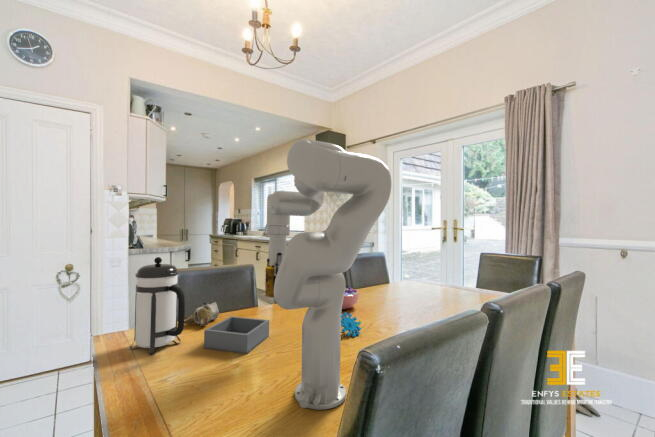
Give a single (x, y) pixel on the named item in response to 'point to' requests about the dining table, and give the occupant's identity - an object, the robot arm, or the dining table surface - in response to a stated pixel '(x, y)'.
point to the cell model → (350, 298)
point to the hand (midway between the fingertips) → (277, 285)
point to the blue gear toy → (350, 324)
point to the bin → (236, 334)
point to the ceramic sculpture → (203, 314)
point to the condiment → (269, 281)
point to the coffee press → (158, 306)
